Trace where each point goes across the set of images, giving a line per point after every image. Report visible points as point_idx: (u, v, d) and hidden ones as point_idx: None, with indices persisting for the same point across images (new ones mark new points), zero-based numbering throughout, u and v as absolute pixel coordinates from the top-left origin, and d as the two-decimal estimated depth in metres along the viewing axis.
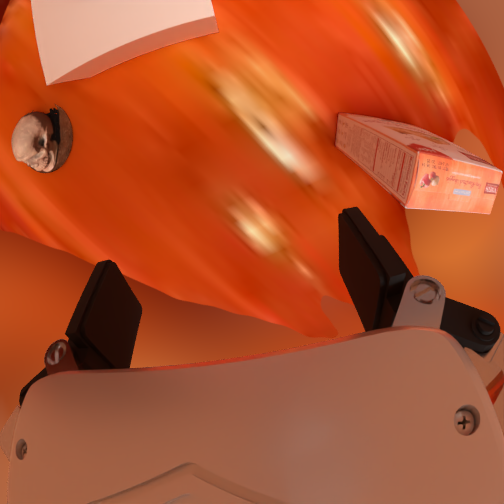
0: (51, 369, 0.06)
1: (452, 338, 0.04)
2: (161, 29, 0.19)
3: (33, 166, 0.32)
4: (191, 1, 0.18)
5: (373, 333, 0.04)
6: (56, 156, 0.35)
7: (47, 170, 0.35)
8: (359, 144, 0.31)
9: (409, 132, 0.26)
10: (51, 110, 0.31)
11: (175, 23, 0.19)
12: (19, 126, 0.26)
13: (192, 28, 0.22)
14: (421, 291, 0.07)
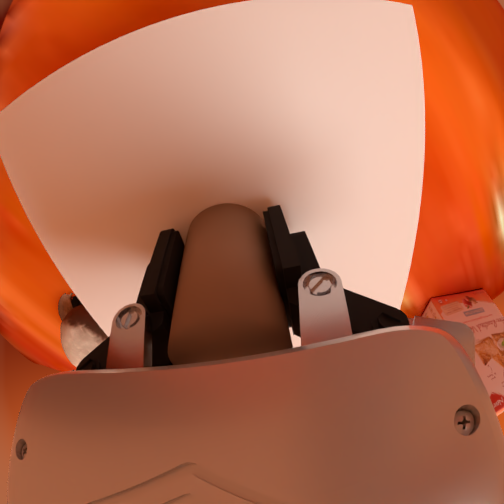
0: (125, 334, 0.07)
1: (452, 338, 0.04)
2: None
3: None
4: None
5: (373, 333, 0.04)
6: None
7: None
8: None
9: (489, 352, 0.25)
10: None
11: None
12: (71, 341, 0.25)
13: None
14: (315, 285, 0.08)
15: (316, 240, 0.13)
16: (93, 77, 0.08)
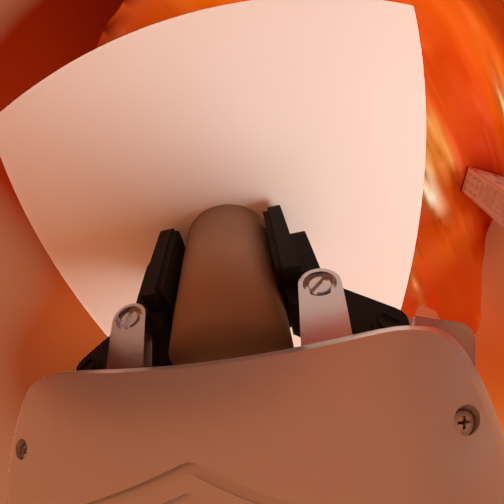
0: (125, 334, 0.07)
1: (452, 338, 0.04)
2: None
3: None
4: None
5: (373, 333, 0.04)
6: None
7: None
8: (492, 201, 0.33)
9: None
10: None
11: None
12: None
13: None
14: (315, 285, 0.08)
15: (317, 241, 0.13)
16: (93, 77, 0.08)
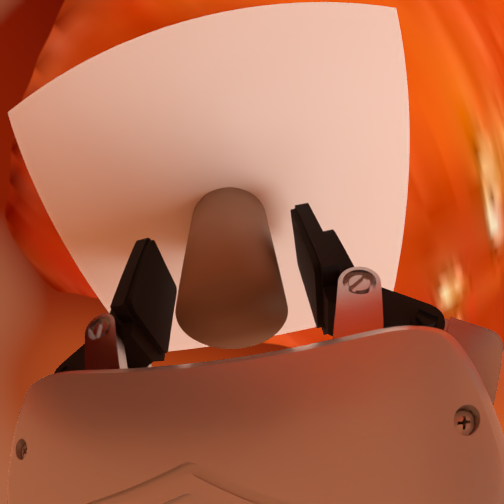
0: (95, 343, 0.07)
1: (452, 338, 0.04)
2: None
3: None
4: None
5: (373, 333, 0.04)
6: None
7: None
8: None
9: None
10: None
11: None
12: None
13: None
14: (355, 282, 0.07)
15: None
16: (109, 73, 0.09)
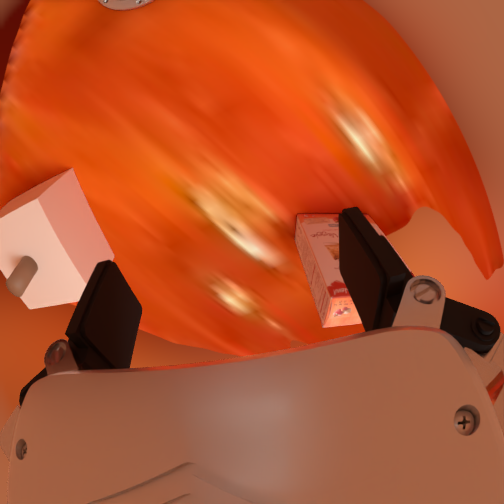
0: (51, 369, 0.06)
1: (452, 338, 0.04)
2: (74, 301, 0.41)
3: None
4: (81, 289, 0.40)
5: (373, 333, 0.04)
6: None
7: None
8: (305, 256, 0.43)
9: None
10: None
11: (79, 299, 0.41)
12: None
13: None
14: (421, 291, 0.07)
15: (46, 264, 0.36)
16: None
